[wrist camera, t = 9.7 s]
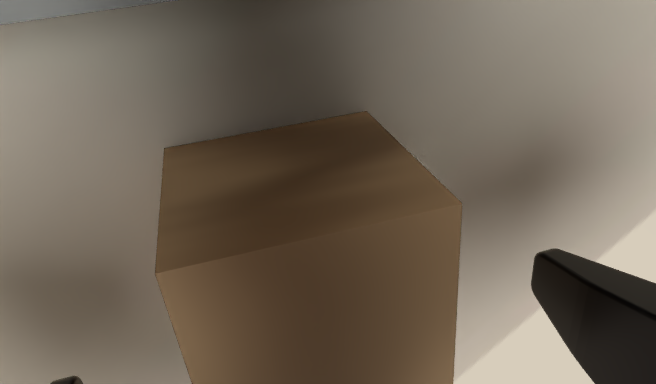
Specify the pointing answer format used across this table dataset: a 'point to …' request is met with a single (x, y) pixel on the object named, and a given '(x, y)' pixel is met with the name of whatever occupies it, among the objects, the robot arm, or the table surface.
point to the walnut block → (309, 257)
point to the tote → (59, 8)
